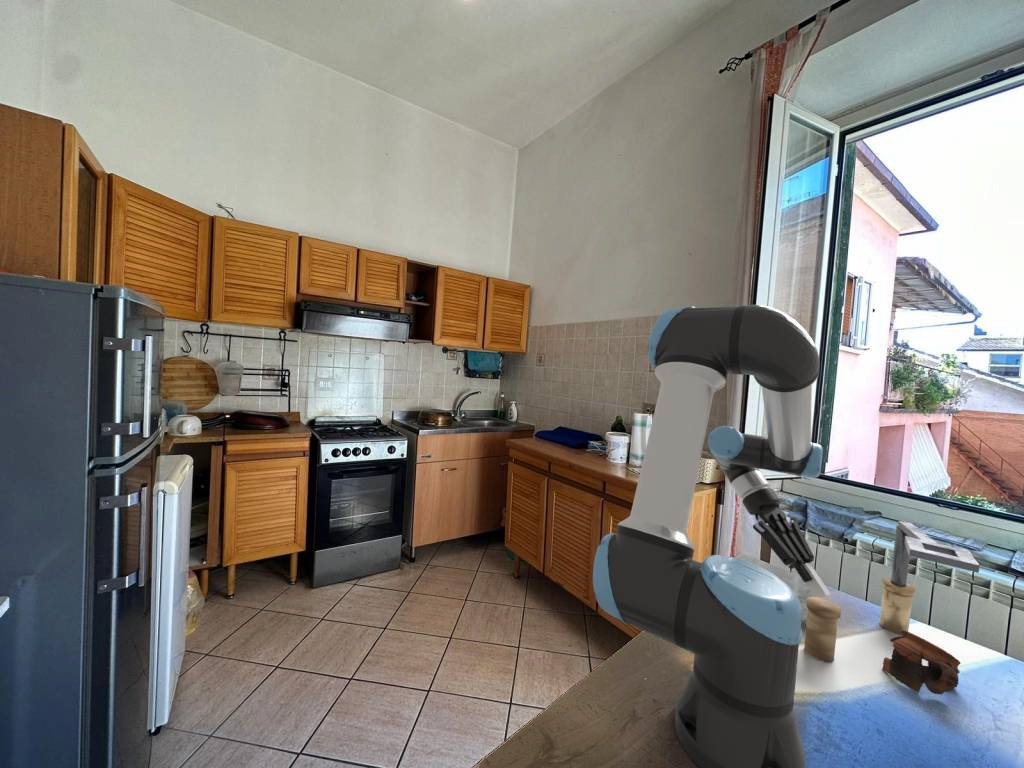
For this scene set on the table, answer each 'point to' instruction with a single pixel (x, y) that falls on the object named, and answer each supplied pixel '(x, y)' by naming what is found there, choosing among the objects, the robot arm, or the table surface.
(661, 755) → the table surface
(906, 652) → the broken brown pot
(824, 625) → the oak collar post
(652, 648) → the table surface
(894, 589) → the aperture bracket
